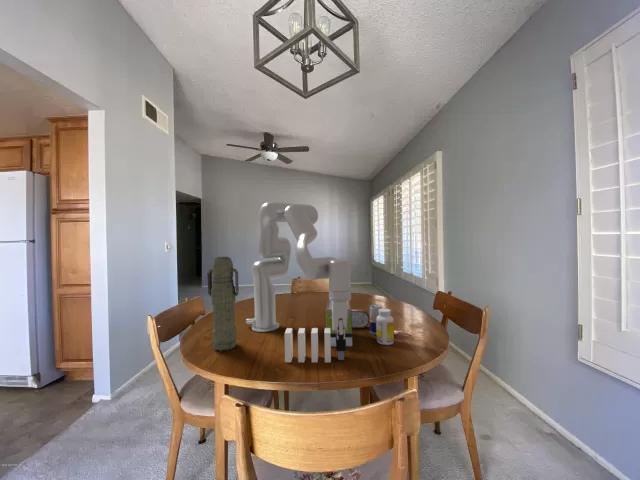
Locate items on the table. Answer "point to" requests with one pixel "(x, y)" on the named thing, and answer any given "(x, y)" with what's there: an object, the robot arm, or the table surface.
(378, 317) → the supplement bottle
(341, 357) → the domino
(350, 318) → the tea box
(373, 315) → the energy drink
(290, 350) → the domino
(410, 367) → the table surface
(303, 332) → the domino
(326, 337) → the domino
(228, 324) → the thermos
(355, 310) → the tin
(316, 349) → the domino
